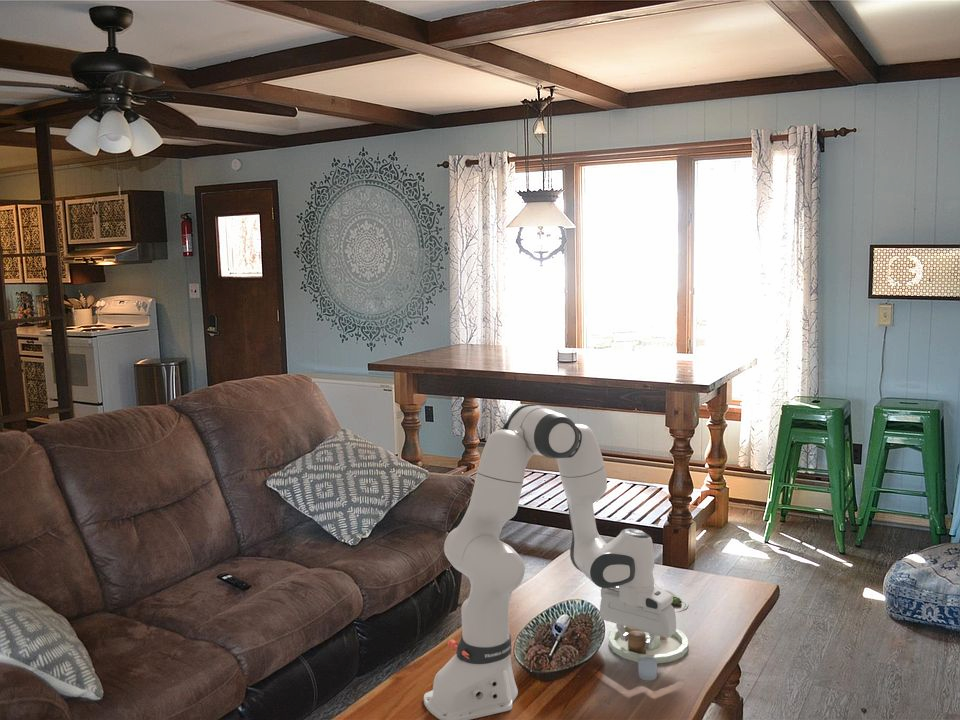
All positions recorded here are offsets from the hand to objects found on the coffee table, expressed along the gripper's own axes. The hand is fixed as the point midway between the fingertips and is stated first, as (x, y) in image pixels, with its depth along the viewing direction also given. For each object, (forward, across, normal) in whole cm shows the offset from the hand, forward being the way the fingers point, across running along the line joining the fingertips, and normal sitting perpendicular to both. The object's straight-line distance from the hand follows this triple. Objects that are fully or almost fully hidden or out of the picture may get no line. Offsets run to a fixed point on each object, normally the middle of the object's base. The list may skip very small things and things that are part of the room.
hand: (637, 643), depth 215 cm
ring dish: (+4, 0, +6) cm, 7 cm away
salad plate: (+4, -10, +30) cm, 32 cm away
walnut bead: (+2, 0, 0) cm, 3 cm away
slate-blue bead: (+4, +8, -9) cm, 12 cm away
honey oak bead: (+2, -5, +9) cm, 10 cm away
